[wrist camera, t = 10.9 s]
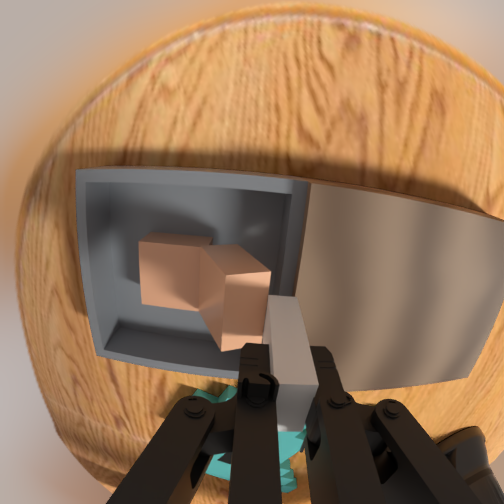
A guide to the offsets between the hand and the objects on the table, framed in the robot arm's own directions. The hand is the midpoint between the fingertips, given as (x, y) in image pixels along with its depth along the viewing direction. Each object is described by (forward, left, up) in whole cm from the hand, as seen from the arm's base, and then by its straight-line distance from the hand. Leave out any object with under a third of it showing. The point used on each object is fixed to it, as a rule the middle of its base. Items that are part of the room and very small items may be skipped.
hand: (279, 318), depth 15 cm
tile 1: (+2, 0, -2) cm, 3 cm away
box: (+6, 0, -6) cm, 9 cm away
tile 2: (+7, 0, -3) cm, 8 cm away
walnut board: (-10, 0, -6) cm, 12 cm away
